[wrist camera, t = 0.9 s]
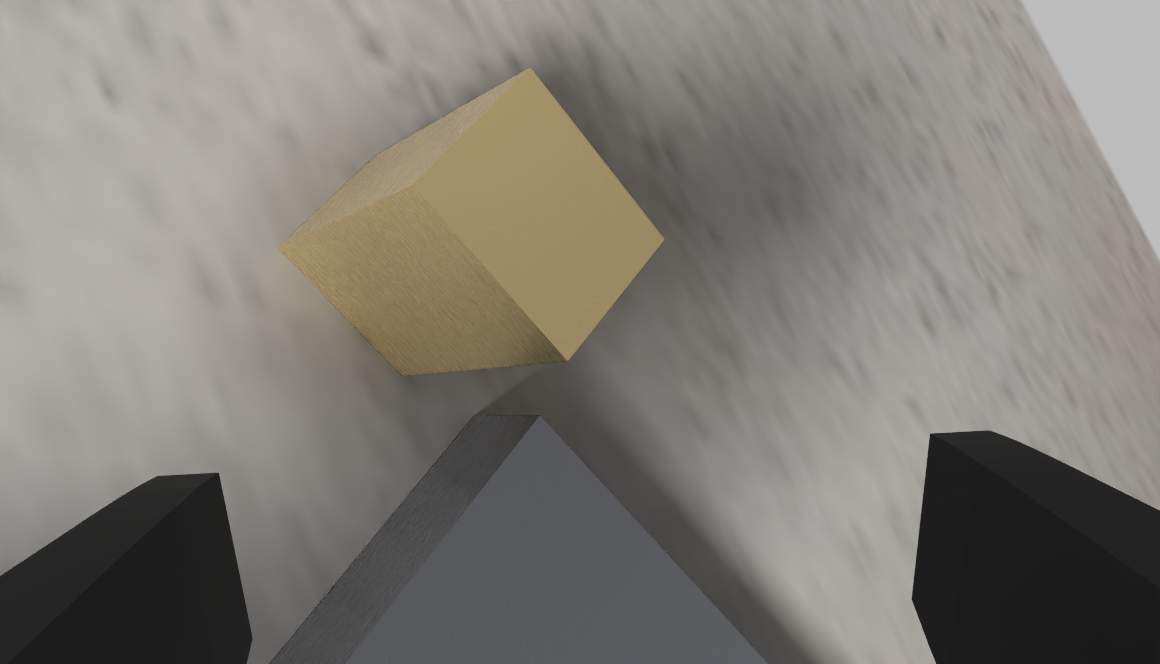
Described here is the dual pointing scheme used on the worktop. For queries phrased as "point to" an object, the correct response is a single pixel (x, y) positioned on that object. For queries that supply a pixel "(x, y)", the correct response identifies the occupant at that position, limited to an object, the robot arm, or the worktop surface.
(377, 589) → the peg hole base
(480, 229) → the tan wooden block
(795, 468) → the worktop surface
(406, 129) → the worktop surface
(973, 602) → the robot arm
